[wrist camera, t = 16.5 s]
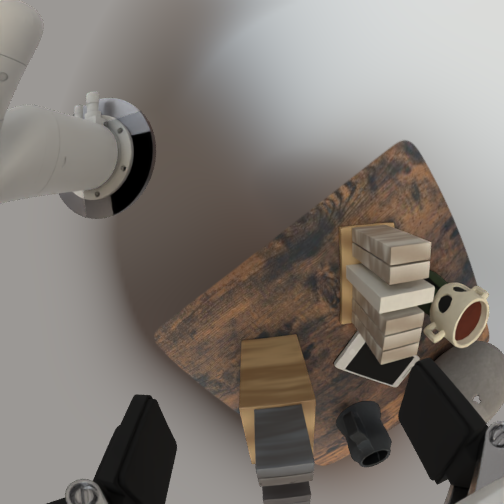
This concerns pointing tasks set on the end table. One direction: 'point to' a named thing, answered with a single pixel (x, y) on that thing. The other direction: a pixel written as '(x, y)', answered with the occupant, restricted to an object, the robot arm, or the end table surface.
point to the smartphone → (372, 363)
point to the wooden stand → (278, 417)
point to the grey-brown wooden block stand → (392, 272)
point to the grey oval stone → (477, 375)
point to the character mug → (455, 312)
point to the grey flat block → (388, 290)
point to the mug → (365, 433)
